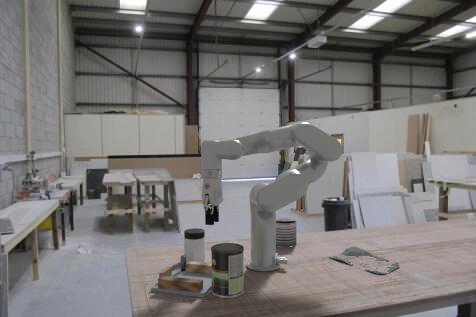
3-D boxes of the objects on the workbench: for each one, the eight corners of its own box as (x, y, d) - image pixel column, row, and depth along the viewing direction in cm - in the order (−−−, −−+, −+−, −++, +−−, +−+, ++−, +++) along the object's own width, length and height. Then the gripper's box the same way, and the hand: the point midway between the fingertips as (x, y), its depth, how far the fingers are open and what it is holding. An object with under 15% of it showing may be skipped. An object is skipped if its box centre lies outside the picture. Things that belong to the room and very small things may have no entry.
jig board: (224, 274, 129) (224, 262, 129) (204, 297, 110) (204, 283, 110) (178, 270, 134) (178, 258, 134) (151, 291, 115) (150, 278, 115)
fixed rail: (203, 289, 113) (203, 279, 113) (199, 292, 110) (199, 283, 110) (162, 284, 117) (162, 275, 117) (158, 288, 114) (158, 278, 114)
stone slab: (407, 271, 136) (407, 265, 135) (380, 281, 127) (380, 275, 127) (354, 251, 156) (354, 246, 156) (328, 258, 147) (328, 253, 147)
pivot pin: (187, 269, 131) (187, 255, 131) (185, 271, 129) (184, 257, 129) (182, 269, 131) (182, 255, 131) (179, 271, 130) (179, 256, 129)
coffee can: (211, 299, 109) (211, 252, 108) (211, 285, 119) (210, 243, 118) (245, 297, 110) (245, 251, 109) (242, 284, 120) (242, 242, 119)
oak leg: (185, 271, 128) (185, 263, 128) (189, 269, 131) (189, 260, 131) (218, 274, 125) (218, 266, 125) (220, 272, 128) (220, 263, 128)
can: (268, 246, 165) (268, 220, 164) (275, 240, 175) (275, 215, 175) (293, 249, 160) (293, 222, 160) (299, 242, 171) (299, 217, 170)
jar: (189, 265, 139) (188, 234, 139) (180, 259, 146) (179, 230, 146) (209, 261, 144) (209, 231, 144) (200, 255, 151) (199, 227, 151)
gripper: (213, 176, 124) (214, 229, 125) (228, 172, 140) (228, 219, 141) (193, 175, 126) (193, 227, 127) (210, 172, 142) (210, 218, 143)
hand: (212, 222), depth 134 cm, fingers open, 4 cm apart
